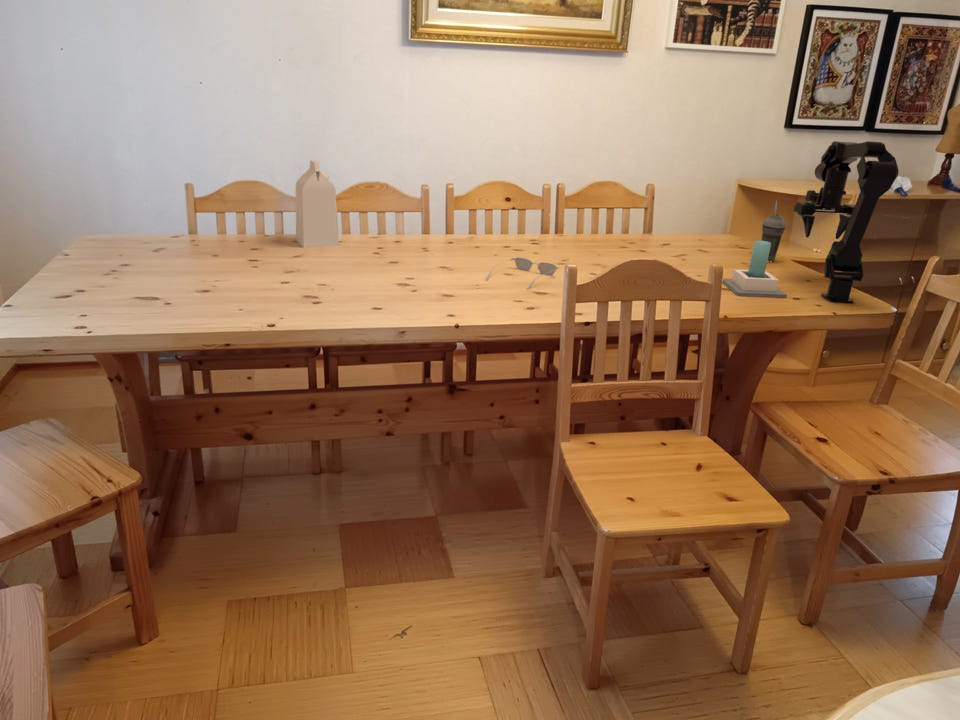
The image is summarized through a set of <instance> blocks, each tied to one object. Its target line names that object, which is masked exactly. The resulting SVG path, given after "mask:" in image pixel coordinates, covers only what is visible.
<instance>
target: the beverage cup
mask: <svg viewBox="0 0 960 720" xmlns="http://www.w3.org/2000/svg"><path fill="white" fill-rule="evenodd" d="M777 209H778V200H775V205H774V214H773V213H772V214H770V215H769V216H767V217H766V218H765V219H764V221H763V224H762V226H761V227H762V228H761V231H762V235H761V241H767V242H770V243H771V247H770V251H769V256H768V261H769V262H768V263H771V262H770V261H774V262H775V258H776V256H777V253H778V249H779V247H780V243H781V240H782V237H783V235H784V232H785V229H786V221H785V219H784V218H783V216H782V215H779V214H777Z"/></svg>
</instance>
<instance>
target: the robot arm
mask: <svg viewBox="0 0 960 720" xmlns="http://www.w3.org/2000/svg"><path fill="white" fill-rule="evenodd" d="M820 158H821V159H820V163H818V165H817V166H816V168H815V169H814V176H815V178H816V179H817V180H819V181H821V182H824V184H823V187H820V190H819V192H816V190H811V189H809V190H807V191H806V195H805V201H806V202H803V201H798V202H796V203H795V205H794V207H793V212H795V213H797V215H798V216H801V218H802V222H803V225H804V226H803V227H804V234H805V237H806V238H807V239H808V238H809V237H810V235H811V232H812V229H813V226H814V223H815V222H814V221H815V218H816V216H815V215H814V214H815V213H823V214H824V213H827V214H828V213H829V214H838V216H839V220H838V221H839V222H838V225H837V229H836V233H835V237H834V238H835V239H836V240H839V239H840V238H841V236H842V238H841V239H840V240H839V241H833V242H832V244H831V247H830V250H829V251H828V254H827V256H826V258H825V261H824V262H825V263H824V270H823V271H824V273H823V274H824V278H827V279H828V280H829V283H828V287H827V291H826V293H821V296H822V297H824V298H825V299H827V300H828V301H830V302H835V303H854V300H853V299H851V298H850V295H851V292H852V288H853V283H854V281H855V282H856V281H857V282H861V281H862V280H863V278H864V269H863V264H862V259H863V253H862V249H861V243H862V241H863V239H864V238H865V237H864V236H865V234H866V232H867V228H868V226H869V224H870V222H871V220H872V217H873V214H874V211H875V210H876V207H877V205H878V202H879V199H880V198H881V197H882V196H883V195H885V194H886V193H887V192H889V190H891V188H892V186H893V184H894V182H895V181H896V179H897V178H898V176H899V167H898V163H897V161H896V158H895V156H894V155H892V154H891V153H890V151H888V150H887V148H886V144H885V142H881V141H870V140H869V141H868V140H866V141H863V142H853V141H852V142H851V141H838V140H837V141H836V140H835V141H832V142H831V144H830V145H829V146H828V147H827V148H826V150H825V152H824V153H823V154H822V156H821V157H820ZM866 158H872V159H873V158H876V159H877V160H868V161H866ZM858 159H860V160H859V161H858ZM856 161H858V162H857V165H856V170H857V174H858V179H857V184H858V188H859V193H858V196H857V199H856V202H855V203H854V204H849V203H844V204H842V201H843V198H844V196H846V195H847V190H845V188H846V184H847V181H848V177H849V174H850V173H852V169H851V167H850V165H852V163H855V162H856Z"/></svg>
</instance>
